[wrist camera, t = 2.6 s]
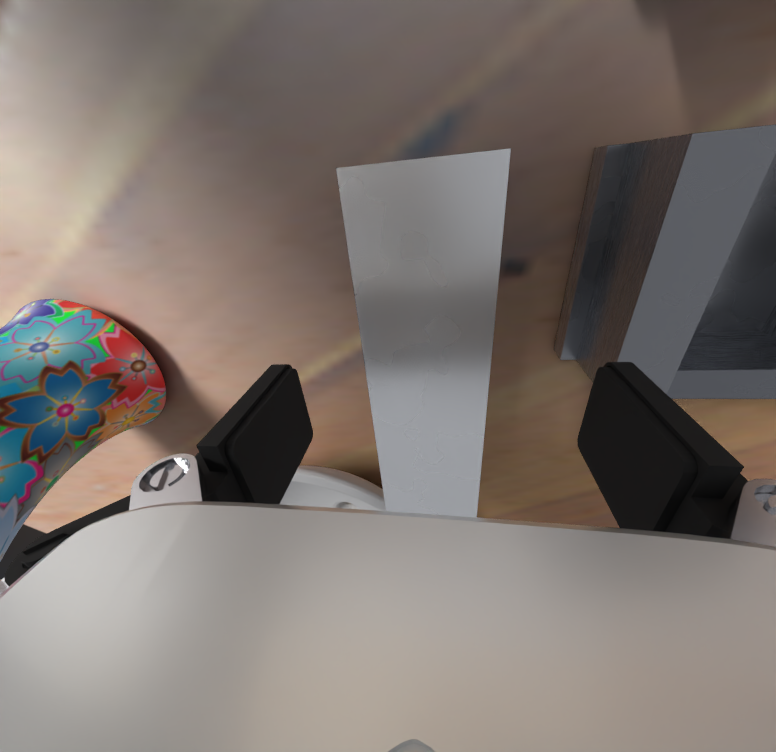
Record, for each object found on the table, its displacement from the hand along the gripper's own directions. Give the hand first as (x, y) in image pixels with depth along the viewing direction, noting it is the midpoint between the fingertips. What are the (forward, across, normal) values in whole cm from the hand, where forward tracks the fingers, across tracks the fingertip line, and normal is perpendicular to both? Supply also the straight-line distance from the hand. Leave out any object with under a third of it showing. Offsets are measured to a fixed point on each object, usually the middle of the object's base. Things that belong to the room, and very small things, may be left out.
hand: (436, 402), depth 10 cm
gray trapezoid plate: (+6, 0, -1) cm, 6 cm away
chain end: (+6, -10, -3) cm, 13 cm away
